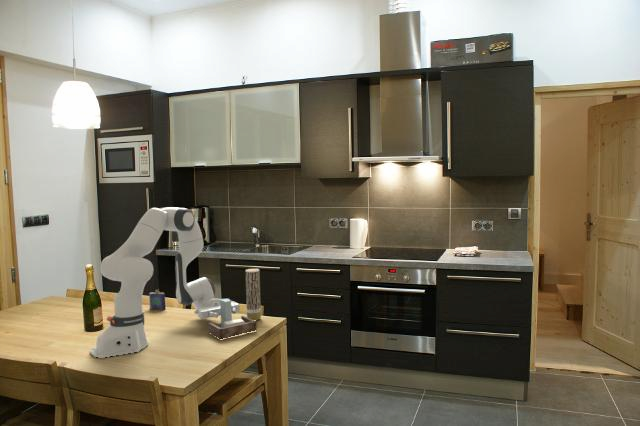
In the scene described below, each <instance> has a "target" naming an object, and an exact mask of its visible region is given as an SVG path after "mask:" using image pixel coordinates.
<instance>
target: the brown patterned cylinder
mask: <svg viewBox="0 0 640 426" xmlns="http://www.w3.org/2000/svg"><path fill="white" fill-rule="evenodd" d="M260 275H261V274H260V269H259V268H248V269H247V268H246V269H245V292H246V293H245V294H246V317H248V318H250V319H252V320H258V319H260V318H261V319H262V316H261V315H262V314H261V308H262V307H261V280H260V278H261V276H260ZM261 319H260V320H261ZM258 321H259V320H258Z"/></svg>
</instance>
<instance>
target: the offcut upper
mask: <svg viewBox="0 0 640 426" xmlns="http://www.w3.org/2000/svg"><path fill="white" fill-rule="evenodd" d="M243 323H244V321H243V320H242V319H241V318H238V319H237V318H236V319H232V320H231V321H225V322H224V328H225V327H229V326H234V325H238V324H243Z"/></svg>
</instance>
